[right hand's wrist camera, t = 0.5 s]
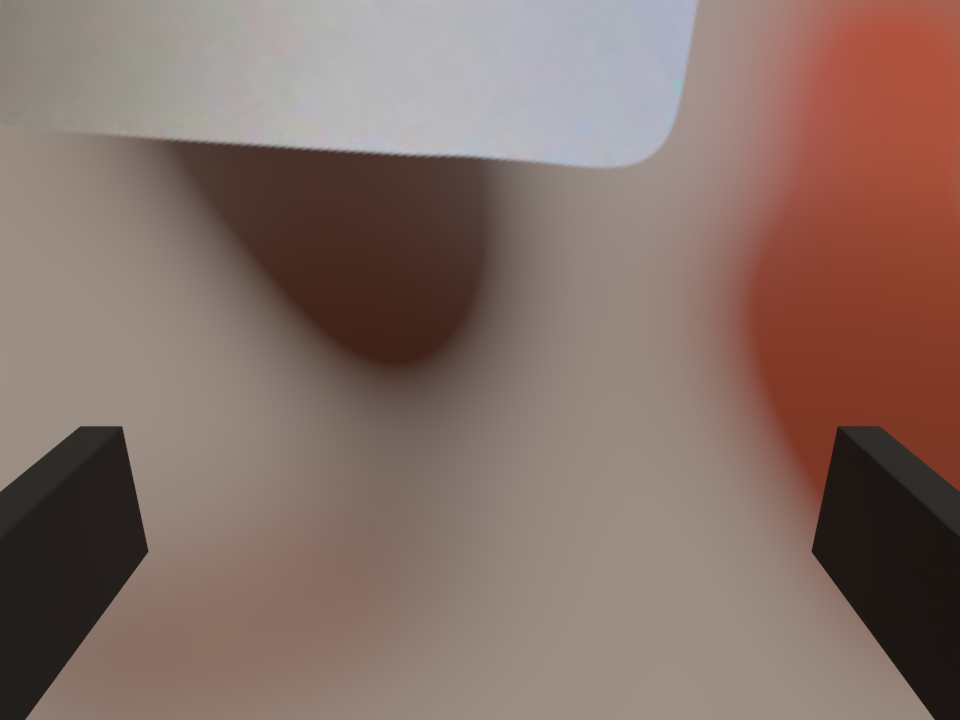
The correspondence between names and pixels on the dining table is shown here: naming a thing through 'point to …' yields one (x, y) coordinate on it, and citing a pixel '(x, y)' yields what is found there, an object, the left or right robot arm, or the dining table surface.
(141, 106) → the dining table surface
